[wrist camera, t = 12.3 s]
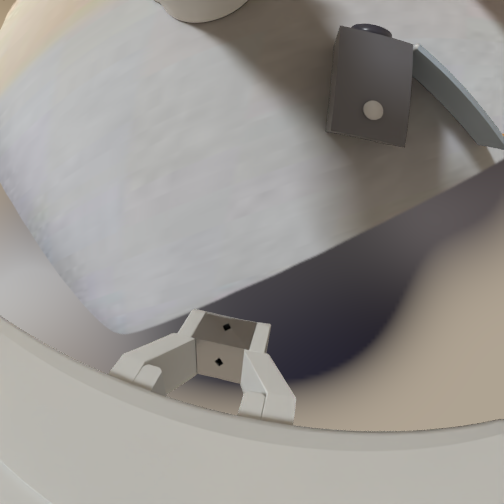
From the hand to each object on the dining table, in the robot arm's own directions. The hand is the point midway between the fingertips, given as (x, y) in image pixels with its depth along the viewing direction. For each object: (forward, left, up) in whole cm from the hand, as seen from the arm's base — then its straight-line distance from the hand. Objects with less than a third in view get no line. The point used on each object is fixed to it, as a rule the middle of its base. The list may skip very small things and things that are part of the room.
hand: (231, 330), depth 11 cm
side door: (-17, +20, -29) cm, 39 cm away
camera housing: (-14, +8, -29) cm, 33 cm away
